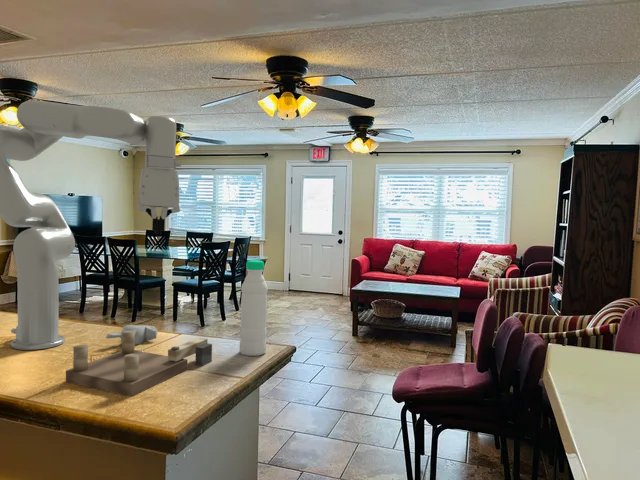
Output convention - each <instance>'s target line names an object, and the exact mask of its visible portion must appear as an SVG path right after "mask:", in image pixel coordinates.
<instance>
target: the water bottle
mask: <svg viewBox="0 0 640 480" xmlns="http://www.w3.org/2000/svg"><path fill="white" fill-rule="evenodd" d="M245 268H246V271H247V275H246V276H245V277H244V281H243V283H242V284H241V287H240V291H241V297H240V298H241V300H240V330H239V332H240V333H239V335H240V336H239V337H240V340H239V341H240V342H239V352H240V354H241V355H243V356H247V357H258V356H262V355H264V354H265V353H266V351H267V340H266V338H267V321H268V320H267V318H268V284H267V282H266V279H265V277H264V275H263V272H264V269H265V262H264V261H263V260H260V259H259V260H257V259H251V260H247V261H246V263H245Z"/></svg>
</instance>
